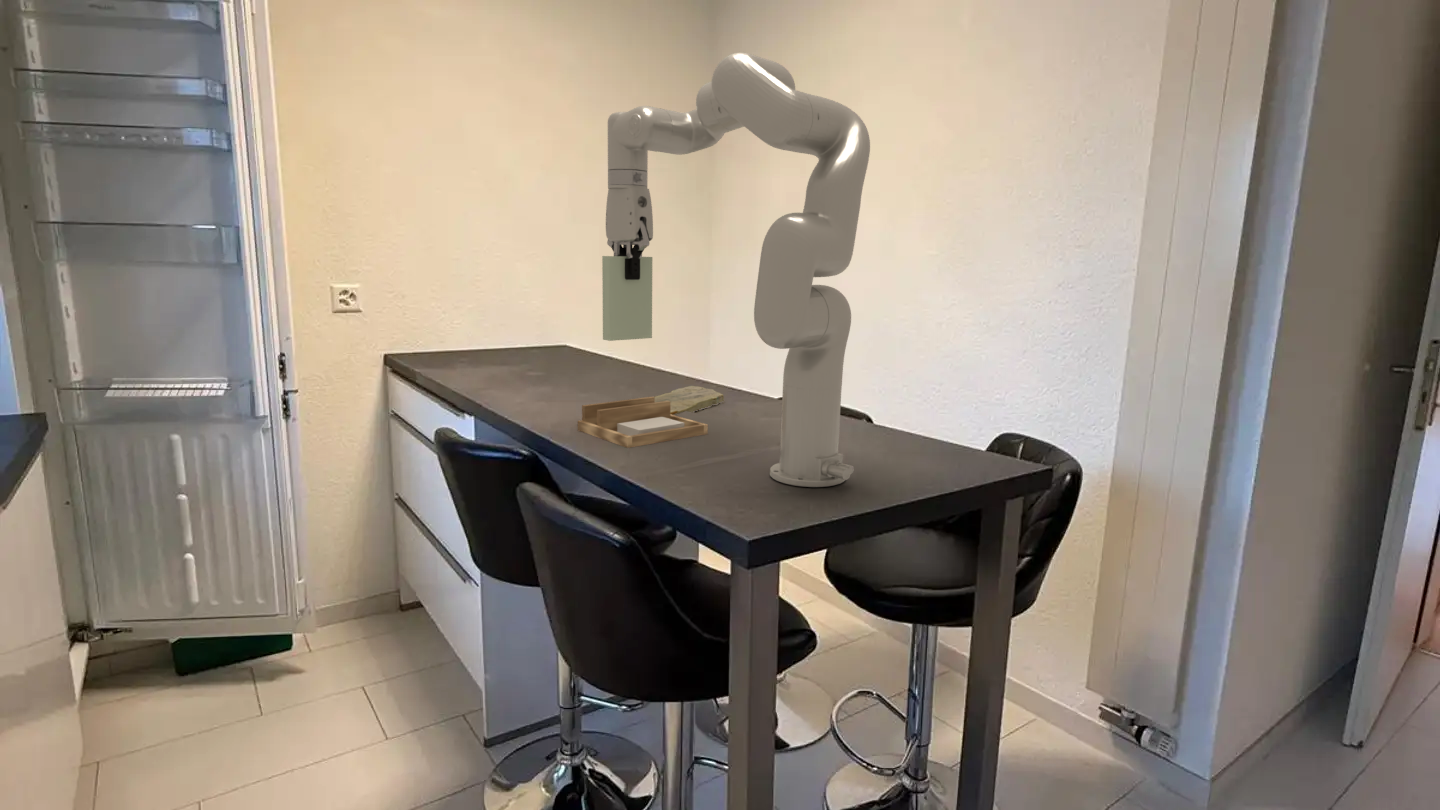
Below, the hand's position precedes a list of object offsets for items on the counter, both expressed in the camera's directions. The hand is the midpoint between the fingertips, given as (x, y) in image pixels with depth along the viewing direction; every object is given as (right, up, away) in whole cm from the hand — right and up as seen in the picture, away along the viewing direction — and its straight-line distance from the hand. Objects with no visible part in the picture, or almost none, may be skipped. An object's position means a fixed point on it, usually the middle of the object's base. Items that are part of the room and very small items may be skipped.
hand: (627, 278), depth 154 cm
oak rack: (+2, -31, +2) cm, 31 cm away
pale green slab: (0, -12, +2) cm, 12 cm away
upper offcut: (+5, -30, 0) cm, 31 cm away
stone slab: (+9, -26, +33) cm, 43 cm away
